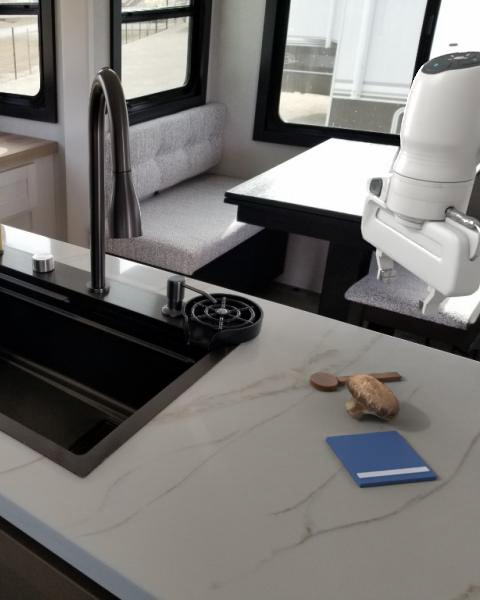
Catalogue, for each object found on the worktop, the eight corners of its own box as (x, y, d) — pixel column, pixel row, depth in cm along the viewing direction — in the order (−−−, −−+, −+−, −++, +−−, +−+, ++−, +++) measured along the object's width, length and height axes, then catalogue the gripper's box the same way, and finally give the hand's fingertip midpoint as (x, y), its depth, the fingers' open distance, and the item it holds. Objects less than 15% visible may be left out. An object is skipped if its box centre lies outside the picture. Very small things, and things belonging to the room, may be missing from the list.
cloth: (395, 433, 87) (396, 429, 86) (436, 479, 79) (437, 475, 79) (325, 440, 86) (326, 436, 85) (359, 487, 78) (360, 483, 77)
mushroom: (334, 406, 87) (364, 371, 86) (325, 394, 95) (352, 361, 93) (384, 443, 86) (415, 407, 85) (371, 427, 94) (399, 394, 92)
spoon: (390, 371, 100) (392, 365, 100) (405, 385, 97) (406, 380, 97) (305, 378, 99) (306, 372, 99) (316, 393, 95) (317, 387, 95)
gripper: (514, 222, 69) (481, 333, 75) (404, 171, 87) (385, 264, 93) (459, 227, 68) (430, 338, 74) (360, 174, 86) (344, 267, 92)
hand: (404, 296), depth 84 cm, fingers open, 8 cm apart
